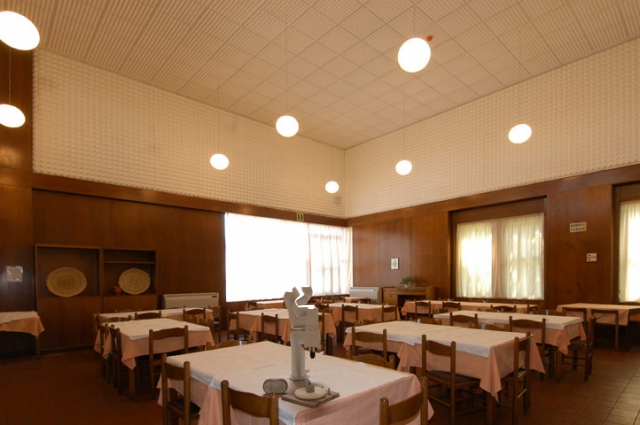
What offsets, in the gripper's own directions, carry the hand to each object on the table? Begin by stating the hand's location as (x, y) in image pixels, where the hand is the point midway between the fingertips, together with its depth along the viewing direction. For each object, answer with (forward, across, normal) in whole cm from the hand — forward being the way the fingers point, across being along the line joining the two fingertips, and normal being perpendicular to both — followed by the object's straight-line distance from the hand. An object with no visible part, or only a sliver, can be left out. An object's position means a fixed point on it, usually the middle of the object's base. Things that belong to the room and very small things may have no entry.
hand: (312, 358), depth 233 cm
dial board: (+20, +2, -10) cm, 22 cm away
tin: (+20, -21, -9) cm, 30 cm away
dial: (+18, +2, -10) cm, 20 cm away
